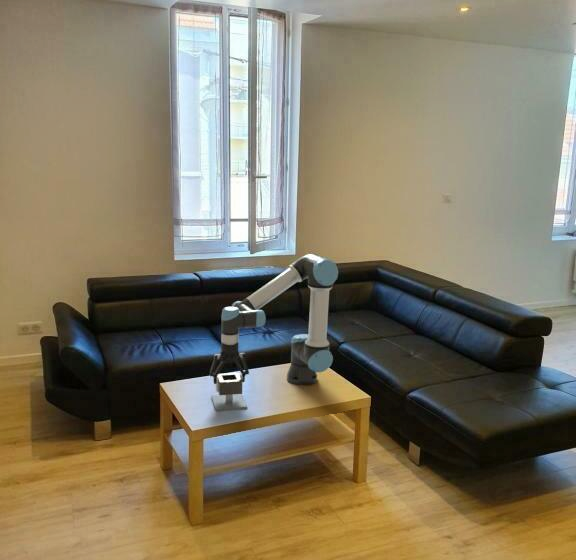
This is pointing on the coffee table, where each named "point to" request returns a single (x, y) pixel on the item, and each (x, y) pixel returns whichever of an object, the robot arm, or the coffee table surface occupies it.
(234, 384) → the hollow square block
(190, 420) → the coffee table surface
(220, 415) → the coffee table surface
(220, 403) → the keeper
